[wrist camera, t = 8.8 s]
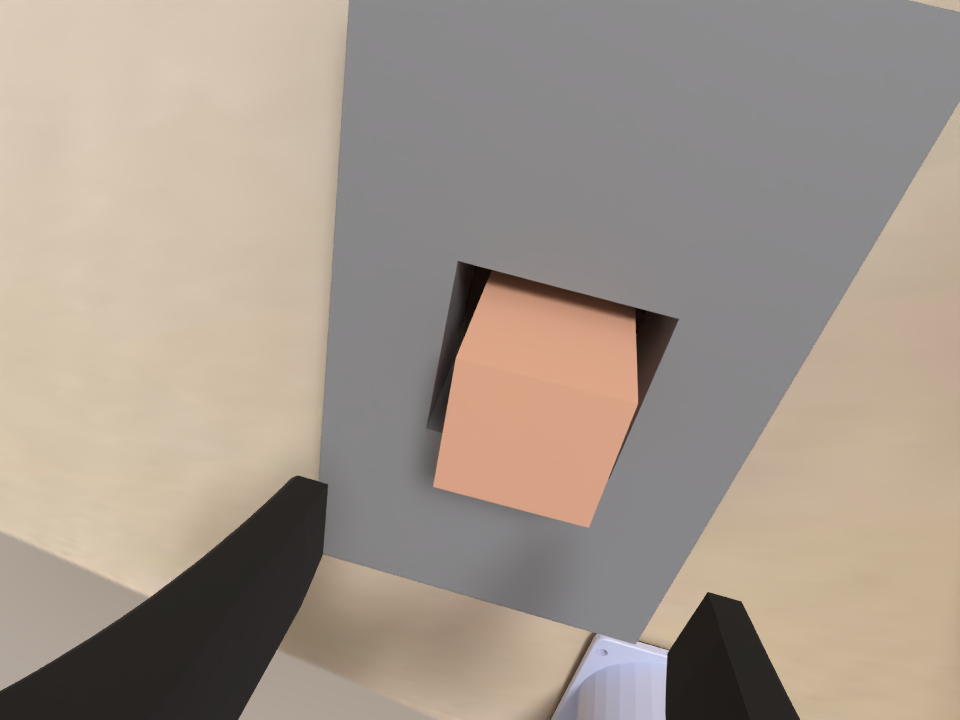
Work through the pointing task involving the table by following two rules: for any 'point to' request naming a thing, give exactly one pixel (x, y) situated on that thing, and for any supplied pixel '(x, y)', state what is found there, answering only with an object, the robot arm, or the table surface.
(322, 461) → the socket board
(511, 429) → the peg
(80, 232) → the table surface
